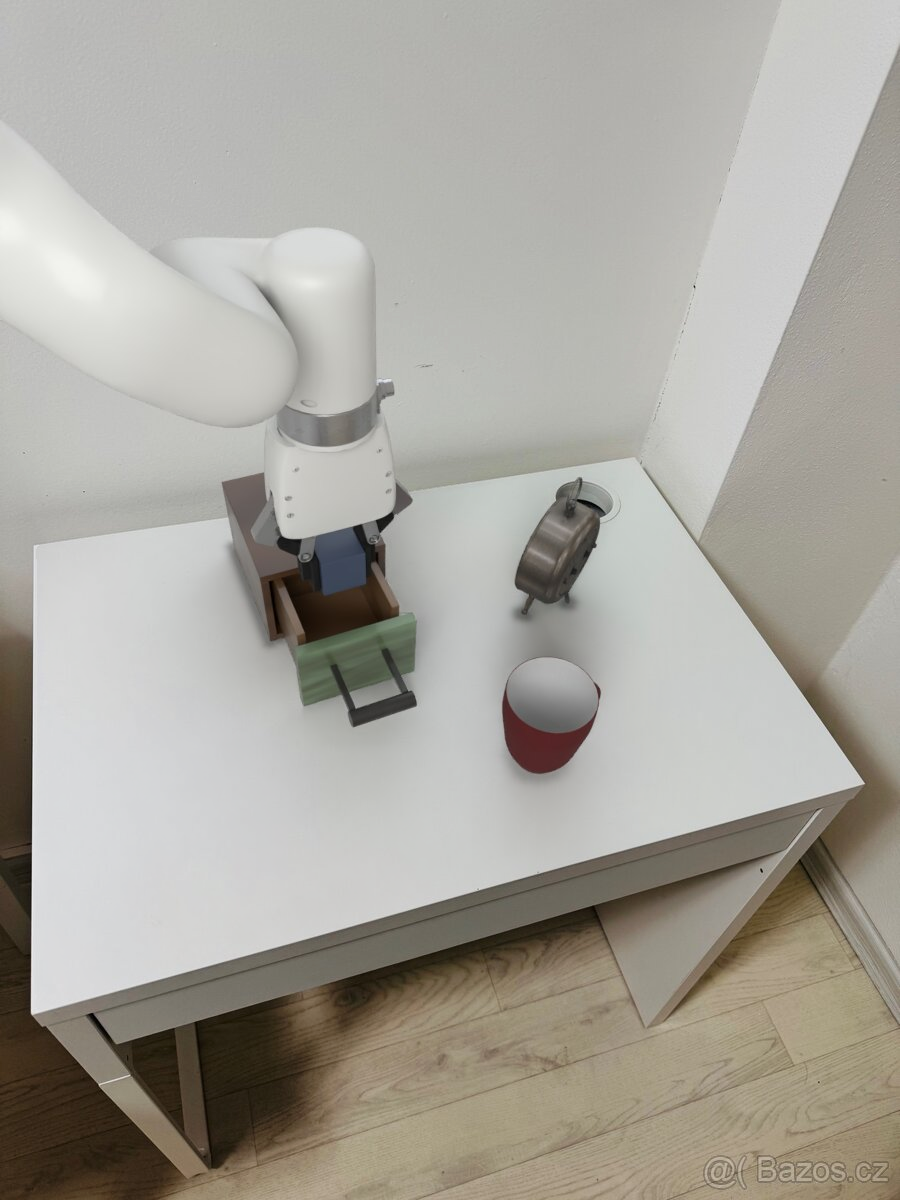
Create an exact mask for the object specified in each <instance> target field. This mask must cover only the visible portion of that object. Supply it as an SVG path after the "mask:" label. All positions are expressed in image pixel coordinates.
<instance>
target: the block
mask: <svg viewBox="0 0 900 1200" xmlns="http://www.w3.org/2000/svg"><path fill="white" fill-rule="evenodd" d="M314 551H315V553H316V555H317V557H318V560H319V565H320V576H321V588H322V589H321V591H322V593H323V595H324V596H326V595H329V594H333V593H336V592H340V591H343V590H347V589H351V588H354V587H358V586H361V585H365V584H366V561H365V552H364V550H363V548H362V546H361V544H360V542H359V540H358V538H357V536H356V534H355V533H354V531H353V529H352V527H348V528H344V529H341V530H337V531H333V532H329V533H325V534H321V535H317V536H316V540H315V546H314Z"/></svg>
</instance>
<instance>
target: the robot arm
mask: <svg viewBox="0 0 900 1200" xmlns="http://www.w3.org/2000/svg"><path fill="white" fill-rule="evenodd" d="M376 281H377V278H376V266H375V261H374V258H373V255H372V253H371V251H370V249H369V248H368V247H367V245H366V244H365V243H364V242H363V241H362V240H360V239H359V238H358V237H356V236H355V235H354V234H351V233H349V232H348V231H347V232H346V231H345V230H341V229H337V228H333V227H325V226H307V227H299V228H294V229H291V230H287V231H285V232H283V233H282V232H281V233H280V234H279V235H276V236H274V237H221V236H220V237H219V236H187V237H180V238H175V239H171V240H167V241H164V242H162V243H159V244H158V245H155V246H154V247H153V248H151V249H150V250H148V251H147V250H145V249H144V247H142V246H141V245H139V244H138V243H137V242H135V241H134V240H133V239H131V238H130V237H128V236H127V235H126V234H125V233H123V232H122V231H121V229H119V228H117V227H116V226H115V225H114V224H113V223H111V222H110V221H109V220H107V218H105V217H104V216H103V215H102V214H101V213H100V212H99V211H98V210H96V209H95V208H94V207H93V206H92V205H91V204H90V203H89V202H88V201H87V200H86V199H85V198H84V197H83V196H82V195H81V194H80V193H79V192H78V191H77V190H76V188H75V187H73V186H72V185H71V184H70V182H68V180H67V179H66V178H65V177H64V176H63V175H62V174H61V173H60V172H59V170H58V169H56V167H55V166H54V165H53V164H52V163H51V162H50V161H49V160H48V159H47V158H46V157H45V156H44V155H43V154H42V153H41V152H40V151H39V150H38V149H37V148H36V147H35V146H34V145H33V144H31V142H29V141H28V140H27V139H26V138H25V137H24V136H22V135H21V134H20V133H18V132H17V130H15V129H14V128H12V127H11V125H9V124H8V123H7V122H5V121H4V120H2V119H1V118H0V321H1V322H3V323H4V324H6V325H7V326H8V327H11V328H12V329H13V330H15V331H17V332H18V333H20V334H22V335H23V336H25V337H26V338H27V339H29V340H31V341H32V342H34V343H35V344H36V345H38V346H40V347H41V348H42V349H44V350H46V351H47V352H49V353H50V354H51V355H54V356H55V357H57V359H60V360H61V361H63V362H64V363H66V364H68V365H69V366H71V367H72V368H74V369H76V370H77V371H78V372H81V373H82V374H84V375H86V376H87V377H88V378H91V379H93V380H94V381H96V382H98V383H100V384H101V385H104V386H106V387H108V388H110V389H111V390H114V391H116V392H117V393H121V394H123V395H125V396H127V397H129V398H132V399H134V400H137V401H139V402H143V403H145V404H147V405H150V406H152V407H154V408H158V409H160V410H162V411H164V412H168V413H170V414H172V415H176V416H179V417H181V418H184V419H186V420H189V421H192V422H195V423H199V424H203V425H206V426H211V427H218V428H225V429H226V428H227V429H240V428H246V427H252V426H256V425H259V424H261V423H264V422H265V421H266V423H265V430H264V439H263V470H264V471H263V472H264V475H265V491H266V498H267V503H266V505H265V507H264V508H263V510H262V512H261V513H260V515H259V517H258V518H257V520H256V522H255V523H254V525H253V527H252V529H251V533H252V535H253V538H254V540H255V542H256V543H258V544H263V545H268V546H272V547H274V546H277V547H279V549H281V550H283V551H285V552H288V553H290V554H292V555H295V556H297V562H298V569H299V573H300V576H301V578H302V580H303V581H306V580H309V582H310V584H311V586H312V588H313V591H314V592H318V591H320V589H322V588H321V576H320V565H319V560H318V557H317V555H316V553H315V551H314V546H315V540H316V536H317V535H321V534H325V533H329V532H333V531H337V530H341V529H344V528H348V527H352V526H353V528H352V529H353V531H354V533H355V534H356V536H357V538H358V540H359V542H360V544H361V546H362V548H363V550H364V552H365V561H366V578H368V577H371V562H375V544H376V543H377V542H378V541H379V540H380V535H381V533H382V532H383V531H384V530H385V529H386V528H387V527H388V526H389V525H390V524H391V523H392V522H393V521H394V519H395V516H396V515H399V514H400V513H402V512H403V511H404V510H405V509H406V508H408V507H409V506H410V505H412V503H413V501H414V499H413V498H412V496H411V494H410V493H409V491H408V489H407V488H406V487H405V486H404V485H403V484H402V483H401V482H400V481H399V479H397V478H396V472H395V461H394V456H393V455H394V454H393V449H392V443H391V437H390V434H389V433H390V431H389V428H388V425H387V421H386V417H385V414H384V411H383V409H382V407H381V403H382V401H383V400H386V398H388V397H393V396H395V386H394V382H393V379H392V378H390V377H388V378H384V379H382V378H381V377H380V378H379V377H378V378H377V287H376V286H377V285H376ZM277 526H279V527H278V528H276V527H277Z"/></svg>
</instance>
